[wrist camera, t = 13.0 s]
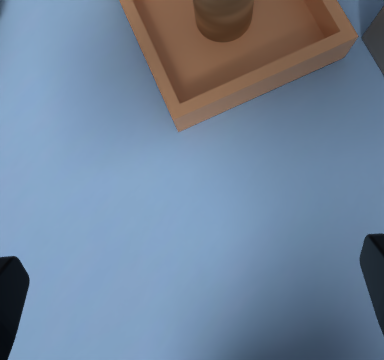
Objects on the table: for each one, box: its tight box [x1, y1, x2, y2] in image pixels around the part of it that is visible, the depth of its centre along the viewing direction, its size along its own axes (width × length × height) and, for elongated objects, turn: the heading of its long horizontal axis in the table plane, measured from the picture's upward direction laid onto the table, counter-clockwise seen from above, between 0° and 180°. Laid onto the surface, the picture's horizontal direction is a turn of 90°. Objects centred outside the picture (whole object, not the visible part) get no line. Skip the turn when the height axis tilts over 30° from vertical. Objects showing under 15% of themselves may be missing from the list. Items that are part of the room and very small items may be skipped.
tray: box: [119, 0, 359, 132], centre depth 23 cm, size 13×13×2 cm
